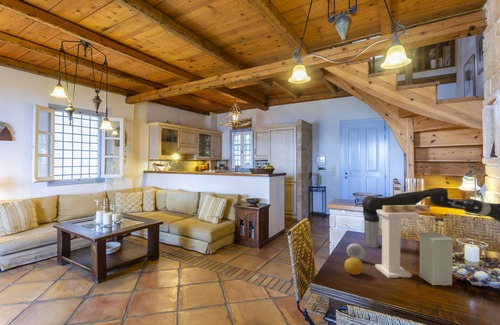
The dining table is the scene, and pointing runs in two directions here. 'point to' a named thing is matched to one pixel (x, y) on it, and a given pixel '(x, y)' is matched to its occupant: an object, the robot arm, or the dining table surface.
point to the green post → (436, 258)
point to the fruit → (353, 266)
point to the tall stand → (392, 244)
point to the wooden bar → (406, 208)
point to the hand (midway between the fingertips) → (448, 200)
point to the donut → (357, 247)
